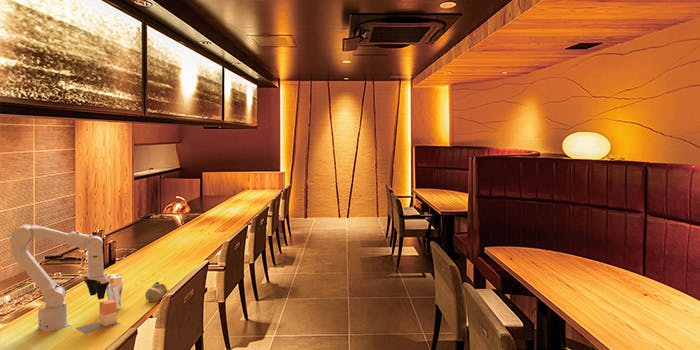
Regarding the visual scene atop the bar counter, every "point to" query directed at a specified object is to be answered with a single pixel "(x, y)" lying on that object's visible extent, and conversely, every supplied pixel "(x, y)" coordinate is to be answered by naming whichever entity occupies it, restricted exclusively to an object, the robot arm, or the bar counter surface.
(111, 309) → the terracotta block
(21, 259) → the robot arm
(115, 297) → the beer glass
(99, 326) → the baseplate
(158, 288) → the ceramic sculpture
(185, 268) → the bar counter surface
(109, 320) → the cream block
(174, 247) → the bar counter surface
